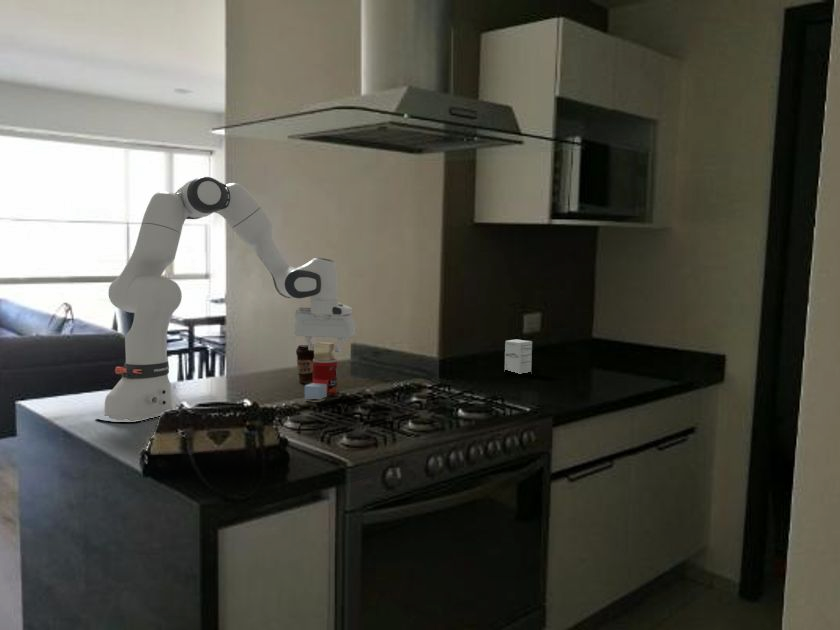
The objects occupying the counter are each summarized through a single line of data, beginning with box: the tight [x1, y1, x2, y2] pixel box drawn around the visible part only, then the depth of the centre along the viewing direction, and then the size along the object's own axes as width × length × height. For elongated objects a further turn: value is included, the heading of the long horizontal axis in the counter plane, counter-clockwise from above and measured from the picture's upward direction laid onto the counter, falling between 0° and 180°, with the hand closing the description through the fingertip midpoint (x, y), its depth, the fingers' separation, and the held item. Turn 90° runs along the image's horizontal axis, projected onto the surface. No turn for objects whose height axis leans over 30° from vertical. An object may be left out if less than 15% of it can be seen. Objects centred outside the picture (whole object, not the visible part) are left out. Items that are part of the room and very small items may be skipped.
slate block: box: [304, 383, 328, 400], centre depth 231 cm, size 5×5×5 cm
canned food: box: [313, 357, 338, 395], centre depth 244 cm, size 8×8×11 cm
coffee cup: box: [295, 344, 314, 384], centre depth 261 cm, size 9×8×13 cm
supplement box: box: [504, 338, 533, 374], centre depth 280 cm, size 7×7×13 cm
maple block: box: [314, 342, 336, 360], centre depth 243 cm, size 5×5×5 cm
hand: (324, 350), depth 243 cm, fingers open, 8 cm apart
